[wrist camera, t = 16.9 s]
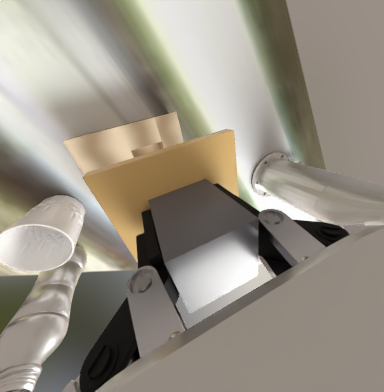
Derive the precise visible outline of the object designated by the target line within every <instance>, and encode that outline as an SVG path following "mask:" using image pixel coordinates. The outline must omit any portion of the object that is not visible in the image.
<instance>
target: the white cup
mask: <svg viewBox="0 0 384 392" xmlns="http://www.w3.org/2000/svg"><path fill="white" fill-rule="evenodd" d="M84 216H85V209H84V206H83V204H81V203H80V202H79V201H78V200H77V199H75V198H72V197H70V196H67V195H55V196H52V197H49V198H46V199H45V200H43V201H42V202H41V203H40V204H38V205H37V206H35V207H33V208H32V209H31V210H29V211H28V212H26V213H25V214H24V215H23V216H21V217H20V218H19V219H18V220H16V221H15V222H14V223H13V224H11V225H10V226H9V227H8V228H6V229H5V230H4V231H2V232H1V233H0V263H1V264H3V265H5V266H7V267H9V268H11V269H14V270H18V271H24V272H42V271H47V270H51V269H54V268H57V267H59V266H61V265H63V264H64V263H66V262H67V261H68V260H69V259H70V258H71V256H72V255H73V252H74V249H75V246H76V243H77V240H78V237H79V234H80V231H81V228H82V225H83V219H84Z"/></svg>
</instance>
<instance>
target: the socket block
mask: <svg viewBox="0 0 384 392" xmlns="http://www.w3.org/2000/svg"><path fill="white" fill-rule="evenodd" d="M63 143H64V144H65V146H66V147H67V149H68V150H69V152H70V154H71V155H72V157H73V158H74V160H75V162H76V163H77V165H78V166H79V168H80V169H81V171H82V173H83V174H84V175H85V174H86V173H87V172H89V171H92V170H96V169H99V168H102V167H105V166H108V165H112V164H115V163H118V162H121V161H125V160H128V159H131V158H134V157H138V156H141V155H144V154H147V153H151V152H154V151H157V150H160V149H163V148H167V147H170V146H173V145H176V144H180V143H183V138H182V134H181V129H180V125H179V121H178V117H177V113H176V112H172V113H168V114H164V115H160V116H156V117H152V118H148V119H144V120H141V121H137V122H133V123H129V124H125V125H121V126H117V127H114V128H110V129H106V130H102V131H98V132H94V133H90V134H87V135H83V136H79V137H75V138H72V139H68V140H65V141H63Z"/></svg>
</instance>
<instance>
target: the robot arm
mask: <svg viewBox="0 0 384 392" xmlns="http://www.w3.org/2000/svg"><path fill="white" fill-rule="evenodd" d="M213 185H214V186H216V187H217V188H218V189H220V190H221V191H222V192H224V193H225V194H226V195H228V196H229V197H231V198H232V199H233V200H235V201H236V202H237V203H239V204H240V205H241V206H243V207H244V208H245V209H247V210H248V211H249V212H251V213H252V214H253V215H255V216H256V217H257V218H259V225H258V257H259V259H260V260H261V262H262V263H263V265H264V266H265V267H266V269H267V270H268V272H269V273H270V275H271V276H272V278H273V279H271V280H270V281H268V282H266V283H265V284H263V285H261V286H260V287H258V288H256V289H255V290H253V291H251V292H249V293H248V294H246V295H244V296H243V297H241V298H240V299H238V300H236V301H234V302H233V303H231V304H229V305H228V306H226V307H224V308H222V309H221V310H219V311H217V312H216V313H214V314H212V315H211V316H209V317H207V318H206V319H204V320H202V321H201V322H199V323H197V324H196V325H194V326H192V327H191V328H189V329H187V327H186V325H185V323H184V320H183V318H182V316H181V314H180V312H179V310H178V308H177V306H176V302H177V300H178V297H179V294H180V293H179V291H178V289H177V287H176V285H175V283H174V281H173V279H172V277H171V275H170V273H169V271H168V269H167V267H166V265H165V263H164V260H163V256H162V252H161V248H160V244H159V240H158V236H157V233H156V229H155V225H154V221H153V217H152V213H151V211H150V209H149V210H146V211H144V212H142V213H141V214H142V220H143V227H144V233H142V234H139V235H137V236H136V244H137V259H138V269H137V270H136V271H135V272H134V273H133V274H132V275H131V276H130V278H129V280H128V282H127V285H126V293H127V298H126V299H125V301H124V302H123V304H122V305H121V307H120V308H119V310H118V311H117V313H116V314H115V315H114V317H113V318H112V320H111V321H110V323H109V324H108V326H107V327H106V329H105V330H104V332H103V333H102V335H101V336H100V337H99V339H98V341H97V342H96V343H95V345H94V346H93V348H92V349H91V351H90V352H89V354H88V356H87V358H86V359H85V361H84V364H83V366H82V369H81V372H80V375H79V376H78V378H77V379H76V380H75V381H73V380H71V382H70V383H69V384H68V385H67V386H66V387H65V389H64V390H63V391H62V392H384V184H381V183H376V182H372V181H367V180H363V179H358V178H355V177H351V176H347V175H343V174H338V173H334V172H331V171H327V170H323V169H318V168H314V167H310V166H306V165H304V163H303V162H299V163H294V162H290V160H289V158H288V156H287V155H285V154H284V153H279V152H275V153H271V154H269V155H267V156H266V157H265V158H264V159H262V161H261V162H260V163H259V164H258V166H257V167H256V169H255V171H254V174H253V178H252V186H253V189H254V191H255V192H256V193H257V194H259V195H261V196H270V195H273V196H274V197H276V198H278V199H280V200H282V201H284V202H286V203H288V204H290V205H292V206H294V207H296V208H298V209H300V210H302V211H304V212H306V213H308V214H310V215H311V216H313V217H315V218H317V219H319V220H321V221H323V222H326V223H323V222H312V221H301V220H292V219H291V218H290V217H288V216H287V215H286V214H285V213H283V212H281V211H279V210H275V209H267V210H263V211H261V212H259V211H258V210H256V209H255V208H253V207H252V206H251V205H249V204H248V203H246V202H245V201H243V200H242V199H240V198H239V197H238V196H236V195H234V194H232V193H231V192H230V191H228V190H227V189H225V188H224V187H222V186H221V185H220V184H218V183H216V184H213ZM358 223H362V224H365V226H342V228H341V227H339V226H337V225H350V224H358Z"/></svg>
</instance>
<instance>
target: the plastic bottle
mask: <svg viewBox="0 0 384 392" xmlns="http://www.w3.org/2000/svg"><path fill="white" fill-rule="evenodd" d="M86 262H87V254H86V252H85V250H84V249H83V248H81V247H80V246H77V245H76V246H75V249H74V252H73V255H72V256H71V258H70V259H69V260H68V261H67V262H66V263H64V264H63V265H61V266H59V267H57V268H54V269H51V270H47V271H42V272H40V274H39V276H38V279H37V281H36V283H35V285H34V288H33V290H32V291H31V293H30V294H29V296H28V297H27V299H26V300H25V302H24V304H23V305H22V306H21V308H20V309H19V310H18V312H17V313H16V315H15V316H14V317H13V319H12V320H11V321H10V323H9V324H8V325H7V327H6V328H5V329H4V331H3V332H2V334H1V336H0V392H33V390H34V387H35V384H36V381H37V379H38V377H39V376H40V373H41V370H42V367H41V364H42V363H43V362H44V360H45V359H46V358H47V357H48V356H49V355H50V354H51V353H52V352H53V351H54V350H55V349H56V348H57V347H58V345H59V344H60V343H61V341H62V340H63V338H64V336H65V334H66V332H67V329H68V324H69V316H70V308H71V302H72V298H73V293H74V289H75V286H76V284H77V281H78V279H79V276H80V274H81V272H82V271H83V269H84V267H85V265H86Z"/></svg>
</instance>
